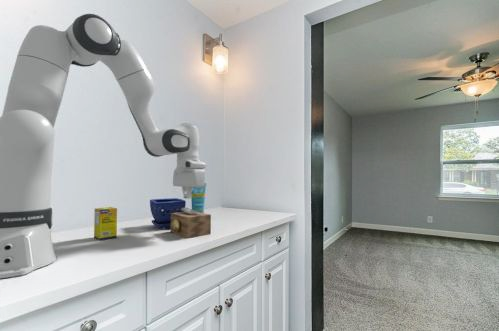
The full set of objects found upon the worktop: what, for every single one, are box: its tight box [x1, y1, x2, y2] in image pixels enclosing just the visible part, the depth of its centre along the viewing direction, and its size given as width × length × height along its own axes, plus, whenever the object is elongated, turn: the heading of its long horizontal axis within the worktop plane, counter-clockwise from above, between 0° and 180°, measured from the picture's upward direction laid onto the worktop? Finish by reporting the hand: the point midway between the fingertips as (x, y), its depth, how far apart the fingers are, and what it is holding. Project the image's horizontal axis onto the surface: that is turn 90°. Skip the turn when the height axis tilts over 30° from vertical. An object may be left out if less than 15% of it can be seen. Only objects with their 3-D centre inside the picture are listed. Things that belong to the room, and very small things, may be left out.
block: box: [170, 212, 212, 239], centre depth 101 cm, size 10×14×8 cm
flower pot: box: [149, 197, 187, 230], centre depth 115 cm, size 13×13×12 cm
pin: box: [172, 220, 181, 232], centre depth 101 cm, size 14×5×5 cm, turn 132°
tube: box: [190, 182, 207, 213], centre depth 116 cm, size 7×5×19 cm, turn 123°
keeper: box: [181, 207, 198, 214], centre depth 102 cm, size 3×9×1 cm, turn 42°
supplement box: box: [93, 206, 118, 241], centre depth 93 cm, size 6×6×11 cm
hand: (187, 198), depth 103 cm, fingers closed
